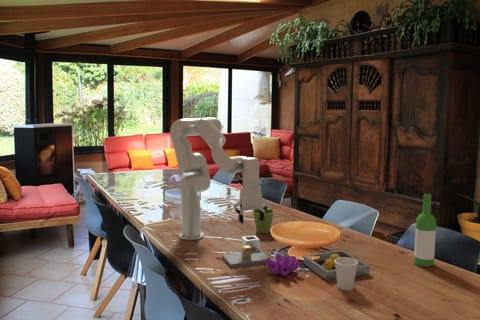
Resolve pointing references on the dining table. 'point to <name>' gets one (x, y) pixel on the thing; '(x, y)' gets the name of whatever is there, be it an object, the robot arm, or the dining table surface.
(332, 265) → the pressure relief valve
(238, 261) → the board
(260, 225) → the plant pot
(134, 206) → the dining table surface
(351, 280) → the dixie cup
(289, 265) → the purple bumpy lump
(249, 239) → the socket
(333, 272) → the grey square tray
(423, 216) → the wine bottle
